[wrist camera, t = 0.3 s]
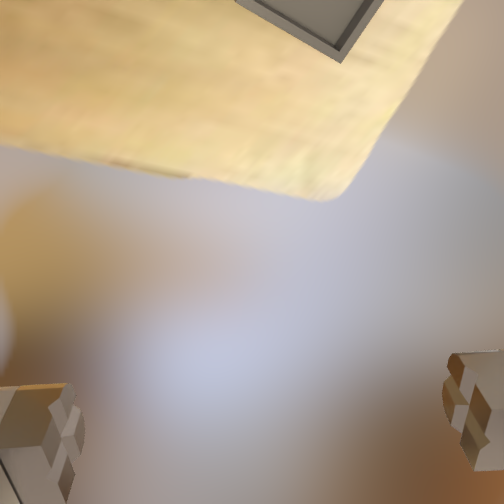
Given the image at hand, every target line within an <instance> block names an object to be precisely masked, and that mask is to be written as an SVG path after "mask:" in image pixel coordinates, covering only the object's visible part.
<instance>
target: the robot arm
mask: <svg viewBox="0 0 504 504" xmlns="http://www.w3.org/2000/svg"><path fill="white" fill-rule="evenodd" d="M447 368H448V370H449V372H450V374H451V375H450V376H449V377H448V378H447V379H446V380H445V381H444V383H443V389H442V400H443V407H444V410H445V414H446V416H447V418H448V421H449V423H450V425H451V426H452V427H454V428H455V429H457V430H458V431H459V432H461V433H462V437H461V440H460V445H461V447H462V449H463V451H464V453H465V455H466V457H467V459H468V461H469V463H470V465H471V467H472V469H473V471H489V470H504V349H499V350H487V351H486V350H485V351H474V352H462V353H452V354H451V356H450V357H449V359H448V364H447ZM75 398H76V394H75V391H74V389H73V386H72V385H71V384H69V383H61V384H42V385H23V386H14V387H0V504H66V503H67V500H68V496H69V493H70V490H71V486H72V483H73V480H74V476H75V472H74V470H73V467H72V463H73V462H74V461H75V460H76V459H77V458H78V457H79V456H80V455H81V452H82V448H83V445H84V437H85V423H84V417H83V414H82V411H81V410H80V409H79V408H78V407H76V406H75V405H73V404H74V401H75Z"/></svg>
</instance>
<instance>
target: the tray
mask: <svg viewBox="0 0 504 504" xmlns="http://www.w3.org/2000/svg"><path fill="white" fill-rule="evenodd" d="M383 1H384V0H235V2H236V3H238V4H239V5H241V6H243V7H244V8H246V9H248V10H250V11H251V12H253V13H255V14H256V15H258V16H260V17H262V18H263V19H265V20H267V21H268V22H270V23H272V24H274V25H275V26H277V27H279V28H280V29H282V30H284V31H286V32H287V33H289V34H291V35H292V36H294V37H296V38H298V39H299V40H301V41H303V42H305V43H306V44H308V45H310V46H311V47H313V48H315V49H317V50H318V51H320V52H322V53H323V54H325V55H327V56H329V57H330V58H332V59H334V60H335V61H337V62H339V63H342V61H343V60H344V58H345V57H346V55H347V54H348V52H349V51H350V50H351V48H352V47H353V45H354V44H355V42H356V41H357V39H358V38H359V36H360V35H361V33H362V32H363V30H364V29H365V28H366V26H367V25H368V23H369V22H370V20H371V19H372V17H373V16H374V14H375V13H376V11H377V10H378V9H379V7H380V6H381V4H382V3H383Z"/></svg>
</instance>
